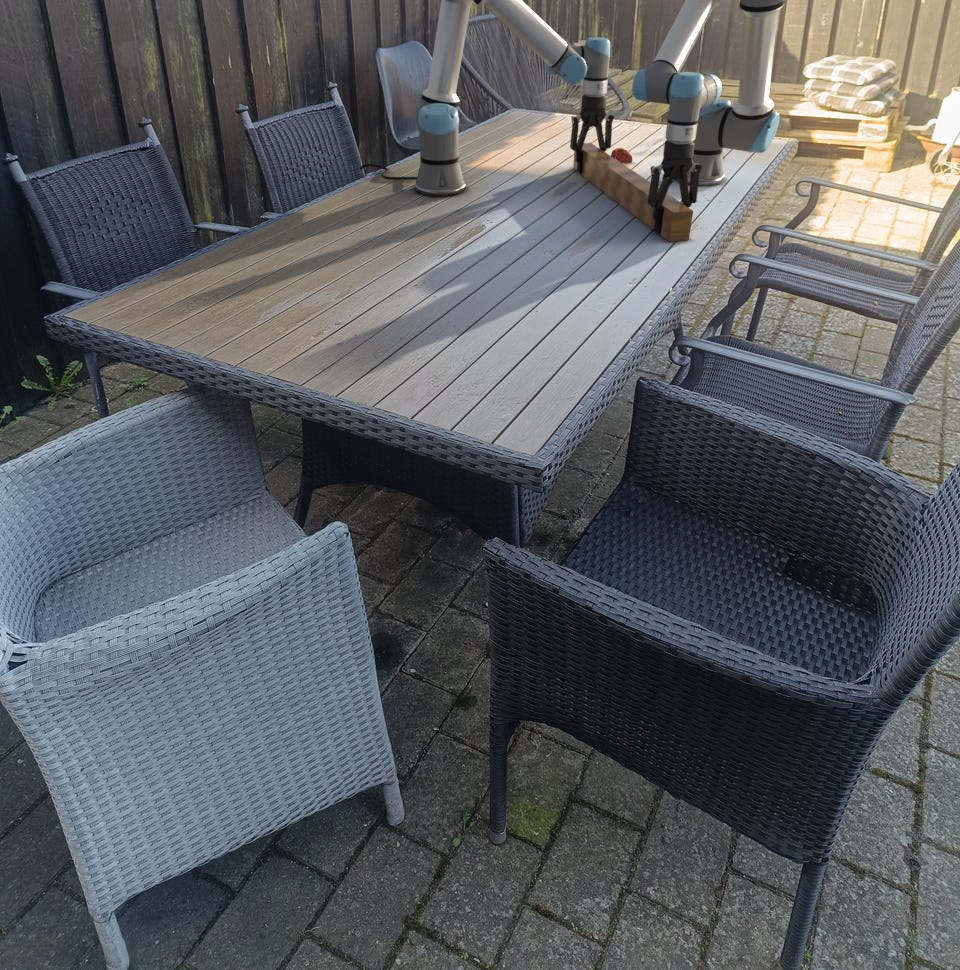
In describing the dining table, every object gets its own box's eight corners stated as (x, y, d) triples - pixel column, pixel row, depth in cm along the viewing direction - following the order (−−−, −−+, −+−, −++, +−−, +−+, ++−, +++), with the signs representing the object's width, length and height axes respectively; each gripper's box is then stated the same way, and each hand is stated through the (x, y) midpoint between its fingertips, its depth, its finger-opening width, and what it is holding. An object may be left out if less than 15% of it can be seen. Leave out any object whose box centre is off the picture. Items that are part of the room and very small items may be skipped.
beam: (573, 168, 278) (574, 143, 273) (589, 167, 279) (590, 142, 275) (669, 242, 221) (673, 212, 216) (689, 240, 222) (693, 210, 218)
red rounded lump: (625, 144, 285) (634, 150, 279) (624, 157, 288) (633, 163, 282) (609, 146, 284) (618, 152, 278) (609, 159, 287) (617, 165, 281)
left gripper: (570, 98, 254) (565, 177, 268) (627, 95, 258) (620, 172, 272) (561, 93, 260) (557, 170, 274) (617, 90, 264) (611, 166, 278)
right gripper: (652, 146, 208) (641, 238, 222) (720, 141, 212) (706, 232, 226) (639, 139, 214) (630, 229, 228) (706, 134, 218) (693, 223, 232)
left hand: (588, 171), depth 273 cm, fingers closed on beam, 6 cm apart
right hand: (668, 230), depth 227 cm, fingers closed on beam, 6 cm apart
